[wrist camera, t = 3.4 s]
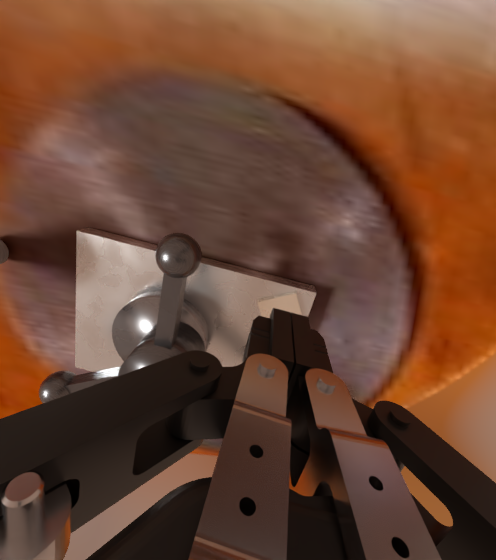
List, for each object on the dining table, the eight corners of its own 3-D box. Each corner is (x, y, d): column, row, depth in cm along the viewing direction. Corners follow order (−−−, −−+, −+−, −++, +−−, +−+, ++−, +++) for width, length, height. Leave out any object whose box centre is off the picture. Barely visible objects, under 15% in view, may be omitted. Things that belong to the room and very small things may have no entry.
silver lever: (321, 252, 21) (335, 281, 16) (265, 413, 27) (261, 475, 22) (82, 191, 22) (14, 198, 16) (79, 364, 28) (29, 412, 22)
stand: (314, 285, 25) (317, 295, 23) (271, 407, 30) (271, 422, 28) (87, 227, 25) (73, 231, 23) (84, 357, 30) (72, 369, 28)
